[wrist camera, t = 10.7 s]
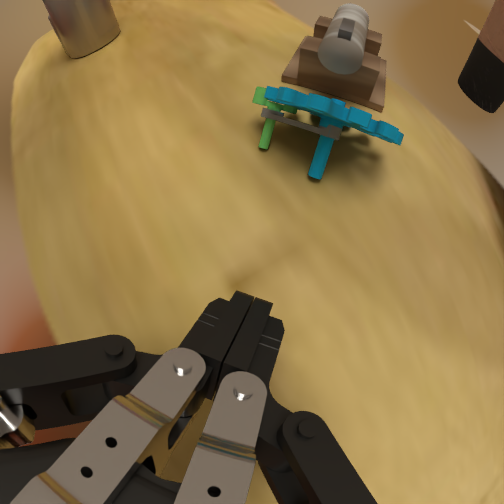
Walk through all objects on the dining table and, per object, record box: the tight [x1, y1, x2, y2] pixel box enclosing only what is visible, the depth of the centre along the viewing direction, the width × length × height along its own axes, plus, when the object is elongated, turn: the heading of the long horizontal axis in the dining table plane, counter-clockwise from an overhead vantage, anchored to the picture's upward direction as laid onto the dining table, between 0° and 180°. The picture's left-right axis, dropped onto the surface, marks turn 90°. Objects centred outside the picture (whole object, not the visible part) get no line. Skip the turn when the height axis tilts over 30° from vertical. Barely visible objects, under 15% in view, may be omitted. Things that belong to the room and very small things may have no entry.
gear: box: [253, 86, 404, 179], centre depth 18 cm, size 11×6×10 cm
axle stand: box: [282, 4, 386, 112], centre depth 20 cm, size 12×10×8 cm
